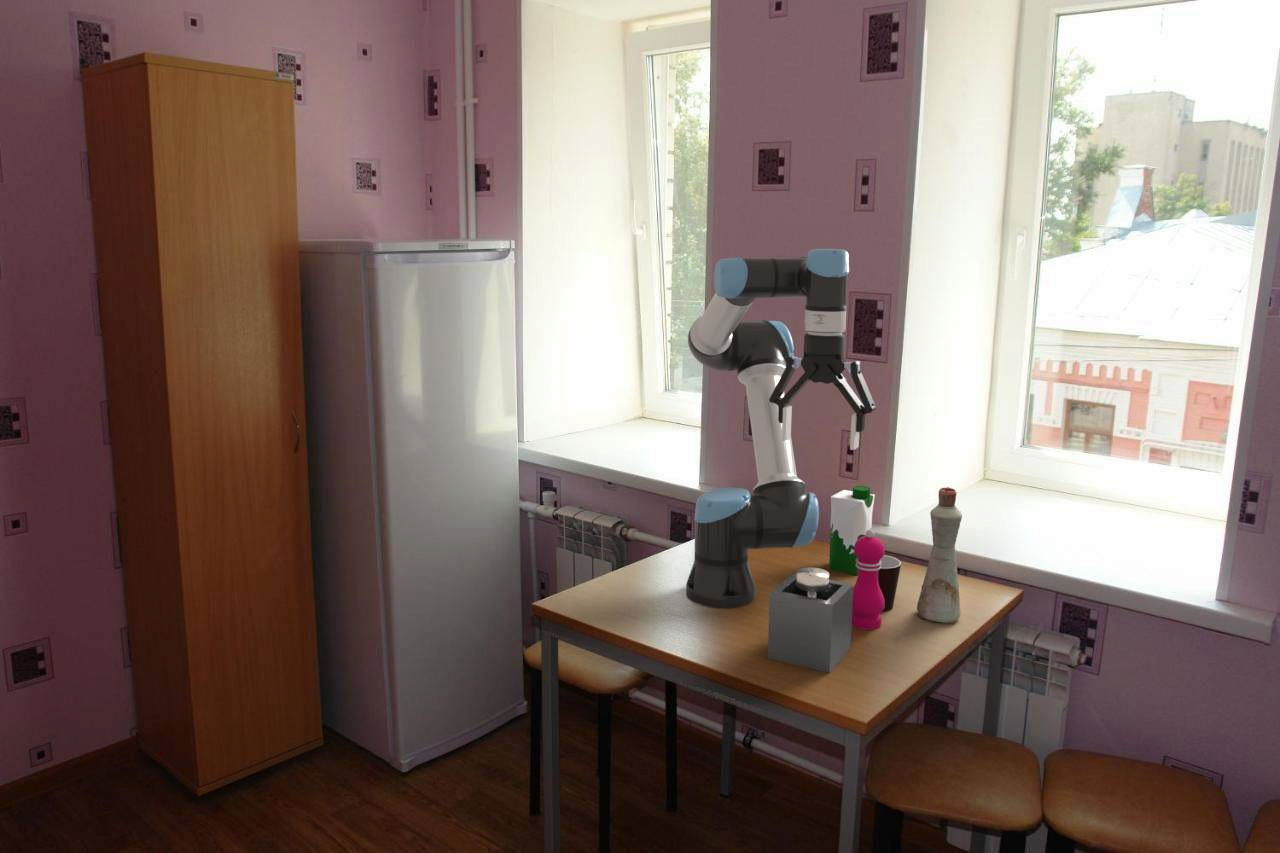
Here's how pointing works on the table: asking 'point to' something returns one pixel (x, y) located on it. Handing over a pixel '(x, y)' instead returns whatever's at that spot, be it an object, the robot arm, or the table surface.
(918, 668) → the table surface
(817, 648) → the tower
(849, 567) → the milk carton
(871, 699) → the table surface
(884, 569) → the coffee mug
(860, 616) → the pepper mill
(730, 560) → the robot arm
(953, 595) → the bottle
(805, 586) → the plunger
